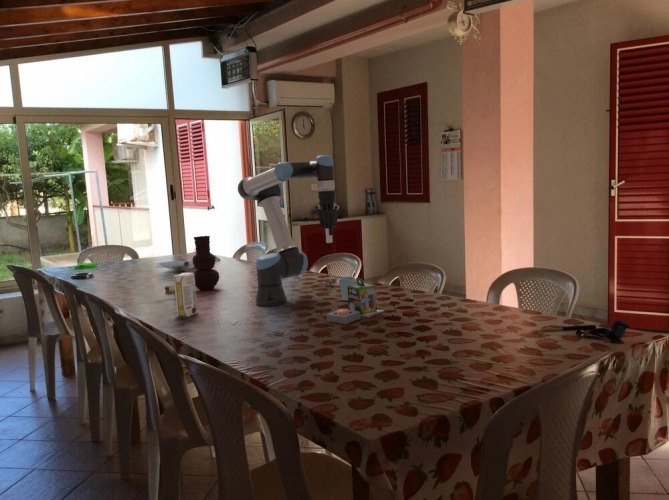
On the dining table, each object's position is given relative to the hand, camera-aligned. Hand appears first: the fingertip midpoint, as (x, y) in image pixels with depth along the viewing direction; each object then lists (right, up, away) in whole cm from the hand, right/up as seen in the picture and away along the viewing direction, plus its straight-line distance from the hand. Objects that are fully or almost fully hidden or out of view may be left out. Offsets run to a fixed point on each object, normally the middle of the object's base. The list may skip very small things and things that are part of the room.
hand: (329, 242), depth 260 cm
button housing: (+6, -32, -22) cm, 40 cm away
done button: (+6, -31, -23) cm, 39 cm away
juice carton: (-65, -33, +3) cm, 73 cm away
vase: (-69, -26, +60) cm, 95 cm away
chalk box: (+15, -30, -12) cm, 35 cm away
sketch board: (+15, -30, -12) cm, 36 cm away
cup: (+9, -27, +16) cm, 33 cm away
